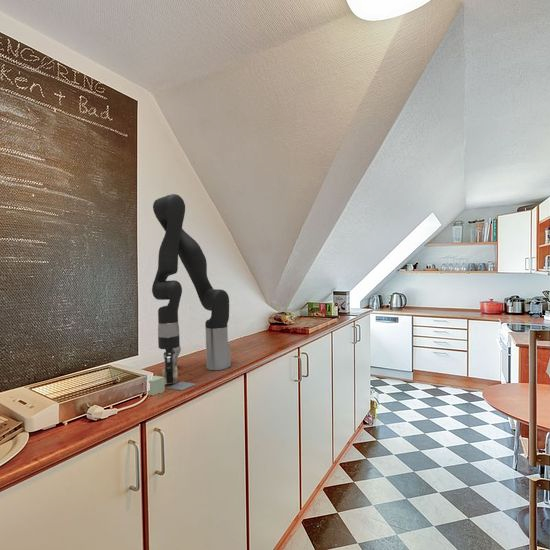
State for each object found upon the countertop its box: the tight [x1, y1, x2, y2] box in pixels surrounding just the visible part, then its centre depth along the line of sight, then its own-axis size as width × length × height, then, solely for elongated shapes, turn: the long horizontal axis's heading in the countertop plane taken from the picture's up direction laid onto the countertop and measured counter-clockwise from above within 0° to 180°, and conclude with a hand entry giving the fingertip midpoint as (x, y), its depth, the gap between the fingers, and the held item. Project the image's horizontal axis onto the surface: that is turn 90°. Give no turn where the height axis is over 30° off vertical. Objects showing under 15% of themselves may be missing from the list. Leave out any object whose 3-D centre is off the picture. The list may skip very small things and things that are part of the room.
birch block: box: [162, 365, 179, 385], centre depth 130 cm, size 5×5×5 cm
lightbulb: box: [173, 345, 182, 367], centre depth 151 cm, size 6×6×11 cm
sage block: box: [148, 375, 166, 396], centre depth 119 cm, size 5×5×5 cm
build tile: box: [166, 381, 197, 392], centre depth 125 cm, size 7×7×1 cm
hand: (170, 380), depth 130 cm, fingers closed on birch block, 5 cm apart
